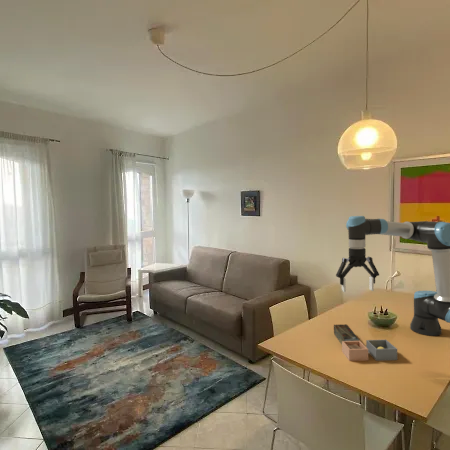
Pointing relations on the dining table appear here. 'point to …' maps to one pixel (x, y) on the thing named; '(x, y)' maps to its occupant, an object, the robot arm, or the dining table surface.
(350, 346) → the walnut cube
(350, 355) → the pink open box
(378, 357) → the grey tub
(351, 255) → the robot arm
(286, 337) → the dining table surface
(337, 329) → the dark grey long box
